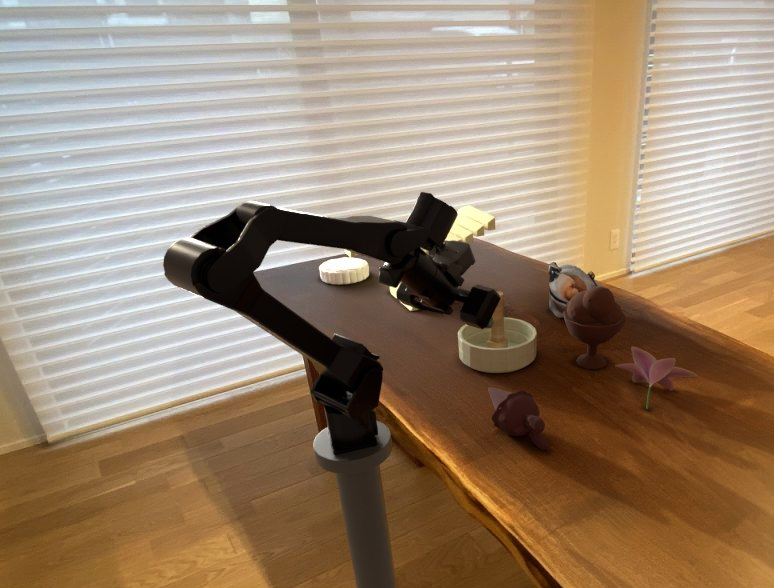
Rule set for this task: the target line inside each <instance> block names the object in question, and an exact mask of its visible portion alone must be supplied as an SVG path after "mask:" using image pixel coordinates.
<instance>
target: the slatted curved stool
mask: <svg viewBox="0 0 774 588" xmlns="http://www.w3.org/2000/svg"><path fill="white" fill-rule="evenodd" d="M457 213H458V216H457V218H456V220H455V222H454V224H453V226H452V228H451V230H450V232H449V234H448V235H447V237H446V239H445V240H446V241H451V240H454V241H459V242H463V243H467V244H469V243H472V242H474V237H477V238H478V237H484V236H485V231H488V232H489V231H495V230H496V216H494V215H492V214H490V213H488V212H485V211H483V210H481V209H479V208H476V207H474V206H472V205H465V206H462V207H460V208H458V209H457ZM444 244H445V243H444ZM421 249H422V248H421ZM422 250H423V251H424V252H425V253H426V254H427V255H429V253H428V251H427V250H425V249H422ZM344 253H345V254H346V255H347V256H348V257H351V258H352V257H353V258H355V257H356V256H359V255H358V254H356V253H353V252H350V251H347V250H345V249H344ZM400 283H401V282H400ZM400 283H399V285H400ZM399 285H398V287H399ZM398 287H397V288H394V287H391V286H389V292H390V294H391V295H392V296H393V297H394V298H395V299H396V300H398V299H397V294H396V291H397V289H398ZM400 304H402V305H403V306H404V307H405V308H407V309H408V310H409V311H410V312H413V311H419V310H420V309H417V308H414V307H411V306H408V305H405V304H403V303H402V302H400Z"/></svg>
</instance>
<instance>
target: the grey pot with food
mask: <svg viewBox="0 0 774 588" xmlns="http://www.w3.org/2000/svg"><path fill="white" fill-rule="evenodd" d="M547 273H548V275H549V277H548V278H549V279H548V291H549V292H548V294H549V302H548V307H549V310H550V311H551V312H552V313H553V314H554V316H555V317H557V318H558V319H564V314H563V312H564V311H565V310H567V307H568V303H569V302H570V300H571V299H572V298H573V297H574V296H575V295H576V294H578V293H579V292H583V291H588V290H590V288H591V287H594V286H602V285H601V284H600V283H599V282H598V281H596V280H595V278H596V274H595V273H594V272H593V271H592V270H590V271H588V272H587V273H586V272H585V271H583V269H582V268H580V267H577V265H572V264H564V265H561V266H558V264H557V262H556V261H552V262H550V263H548V268H547Z"/></svg>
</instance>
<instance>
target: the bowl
mask: <svg viewBox="0 0 774 588" xmlns="http://www.w3.org/2000/svg"><path fill="white" fill-rule="evenodd" d="M504 336H505V337H507V339H508V347H507V348H487V339H488V338H489V337H490V328H484V329H479V328H475V327H472V326H469V325H467V324H466V323H464V325H462V326H461V327H460V328H459V330H458V331H457V341H458V343H457V344H458V358H459V360H460V361H461V363H462V364H464V365H465V366H467V367H469V368H470V369H473V370H474V371H478V372H481V373H482V372H483V373H488V374H503V373H512V372H515V371H518V370H521V369H524V368H525V367H528V366H529V365H530V364H531V363H533V362H534V361H535V359H536V357H537V353H538V352H537V349H538V348H537V347H538V346H537V345H538V338H537V337H538V333H537V329H536V327H535V326H533V325H532V324H531V323H529V322H527V321H525V320H523V319H518V318H514V317H506V316H504Z"/></svg>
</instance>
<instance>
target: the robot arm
mask: <svg viewBox="0 0 774 588" xmlns="http://www.w3.org/2000/svg"><path fill="white" fill-rule="evenodd" d="M457 216H458V210H457V209H456V208H455V207H454V206H453V205H449V203H446V202H445V201H443V200H442V199H440V198H438V197H435V196H434V194H433V193H431V192H427V191H426V192H425V191H420V193H419V194H418V197H417V198H416V201H415V204H414V206H413V208H412V210H411V212H410V214H409V215H408V217H407V219H406V221H405V222H404V221H401V220H400V221H399V220H395V219H394V220H392V219H387V218H382V217H378V216H373V215H352V216H348V217H340V218H339V217H338V218H337V217H332V216H327V215H322V214H321V215H320V214H317V213H316V214H314V213H310V212H303V211H298V210H293V209H287V208H283V207H276V206H274V205H272V204H268V203H263V202H258V201H255V200H247V201H245V202H242V203H241V204H239V205H238V206H236V207H235V208H234V209H232V210H231V211H230V212H229V213H228V214H226V215H224V216H222V217H220V218H218V219H216V220H214V221H212V222H210V223H208V224H206V225H204V226H202V227H201V228H199V229H198V230H196V231H195V232H194V233H193V234H192V235H190V236H189V237H188V238H182V239H178V240H177V241H175V242H173V243H172V244H171V245H170V246H169V247H168V248H167V249H166V252H165V253H164V256H163V262H162V266H163V272H164V273H163V274H164V277H165V278H166V280H167V281H168V282H170V283H171V285H173V286H175V287H177V288H179V289H181V290H183V291H186V292H188V293H189V294H190V293H191V294H193V295H195V296H197V297H200V298H202V299H205V300H207V301H210V302H212V303H215V304H217V305H219V306H221V307H224V308H227V309H229V310H231V311H234V312H235V313H237V314H238V315H239V316H242V317H243V318H244V319H246V320H247V321H249V322H251V323H252V324H254V325H255V326H257V327H258V328H260V329H261V330H263V331H264V332H266V333H268V334H269V335H270V336H272V337H274V338H275V339H277V340H278V341H280V342H282V343H283V344H284V345H286V346H287V347H289V348H290V349H292V350H293V351H295V352H297V353H298V354H300V355H301V356H303V357H305V359H307V360H309V361H310V362H311V364H312V365H313V367H314V369H315V371H316V372H317V373H318V374H319V375H318V377H317V378H316V379H315V382H314V384H313V385H312V387H311V389H310V394H311V396H312V398H313V399H314V401H315V402H316V403H320V404H322V405H323V409H324V414H325V420H326V424H327V425H326V426H327V427H328V431H327V433H328V437H329V440H330V444H331V448H332V451H333V454H334V455H338V454H342V453H347V452H351V451H355V450H360V449H364V448H368V447H373V446H376V445H378V441H377V438H376V435H378V427H377V421H378V420H377V412H376V410H375V409H376V408H378V407H379V402H380V397H381V391H382V386H383V375H384V373H383V372H384V367H383V365H382V363H381V362H380V361H378V360H379V359H380V358H381V356H380V355H378V354H375V353H374V352H371V351H370V350H369V349H368V347H366V346H365V345H364V344H363V343H361V342H358V341H356V340H354V339H351V338H349V337H347V336H343V335H342V334H339V333H336V332H334V333H333V336H332V338H331V337H330V336H328V335H327V334H325V333H324V332H323V331H322V330H320V329H318V328H317V327H316V326H314V324H311V323H310V322H309V321H307V320H306V319H305V318H304V317H302V316H301V315H299V314H298V313H296V312H295V311H293V310H292V309H291V308H289V307H288V306H287V305H285V304H284V303H282V302H281V301H280V300H278V299H277V298H276V297H274V296H273V295H271V293H269V292H267V290H265V289H264V288H263V286H262V284H261V283H260V281H259V279H258V277H257V276H256V274H255V272H256V270H258V269H259V268H260V267H261V265H262V264H263V261H264V259H265V257H266V256H267V254H268V251H269V250H270V247H271V246H272V245H274V244H275V243H276V242H277V241H279V242H288V243H296V244H300V245H301V244H303V245H309V246H318V247H325V248H326V247H327V248H333V249H342V250H344V251H345V250H347V251H350V252H353V253H356V254H358V255H357V256H362V257H364V258H368V259H372V260H376V261H379V262H383V263H384V264H383V265H382V266H379V268H378V271H379V274H378V277H377V278H378V281H377V282H378V283H379V284H382V285H385V286H387V287H390V286H391V287H394V288H397V287H398V285H399V283H400V282H401V283H400V285H399V287H398V289H397V291H396V294H397V299H396V300H398V302H399V303H401V302H402V303H403V304H405V305H408V306H411V307H414V308H417V309H419V310H420V311H425V312H431V313H434V314H440V315H445V316H452V315H453V313H454V311H455V310H454V308H453V307H452V305H453V304H457V305H459V306H461V309H460V311H459V319H460V321H462V322H463V323H464V324H467V325H469V326H472V327H475V328H479V329H484V328H492V327H493V325H494V321H493V317H492V315H493V313H494V311H495V309H496V307H497V305H498V303H499V301H500V299H501V297H500V295H499V294H498V292H497V291H498V290H496V289H495V288H492V287H488V286H484V285H481V284H476V285H474V286H472V287H471V289H470V290H467V289H462V288H459V287H462V286H463V284H464V283H465V279H464V278H463V275H464V274H466V272H467V271H468V270H469V269H470V267H471V266H474V264H475V263H476V261H477V260H476V258H475V255H474V252H473V250H472V248H471V244H469V243H465V242H463V241H462V242H459V241H454V240H451V241H446V240H445V239H446V237H447V235H448V234H449V232H450V230H451V228H452V226H453V224H454V222H455V220H456V218H457ZM444 243H445V244H444ZM421 248H422V249H425V250H427V251H428V253H429V255H427V254H426V253H425V252H424V251H423V250H422V249H421ZM402 303H401V304H402ZM403 304H402V305H403Z"/></svg>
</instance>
